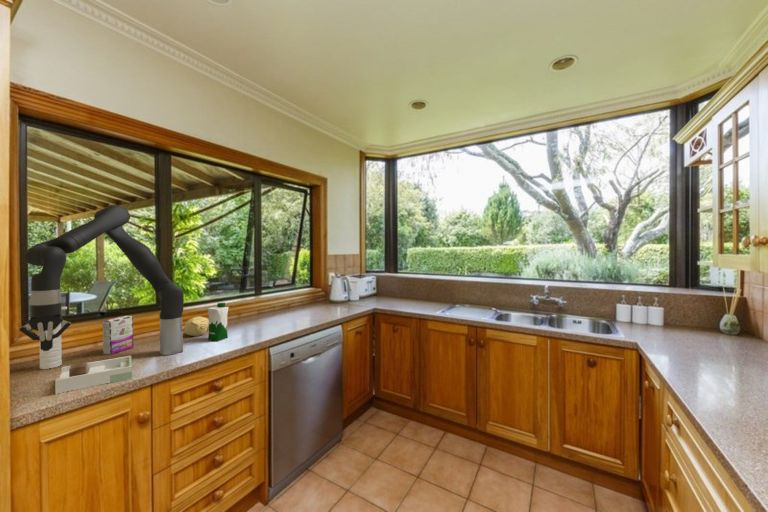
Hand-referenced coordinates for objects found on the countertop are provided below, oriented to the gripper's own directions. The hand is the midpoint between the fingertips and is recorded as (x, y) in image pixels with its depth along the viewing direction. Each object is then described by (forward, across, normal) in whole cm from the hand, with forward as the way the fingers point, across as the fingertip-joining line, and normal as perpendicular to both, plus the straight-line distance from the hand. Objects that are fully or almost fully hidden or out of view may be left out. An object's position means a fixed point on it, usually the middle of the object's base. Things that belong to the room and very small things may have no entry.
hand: (46, 350), depth 111 cm
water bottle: (+15, +2, -31) cm, 35 cm away
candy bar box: (+15, -19, -39) cm, 46 cm away
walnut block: (+12, -8, 0) cm, 14 cm away
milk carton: (+15, -62, -32) cm, 72 cm away
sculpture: (+15, -54, -48) cm, 74 cm away
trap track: (+15, -13, -3) cm, 20 cm away
